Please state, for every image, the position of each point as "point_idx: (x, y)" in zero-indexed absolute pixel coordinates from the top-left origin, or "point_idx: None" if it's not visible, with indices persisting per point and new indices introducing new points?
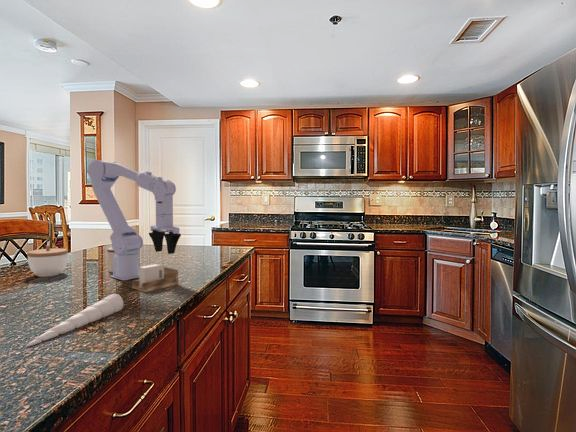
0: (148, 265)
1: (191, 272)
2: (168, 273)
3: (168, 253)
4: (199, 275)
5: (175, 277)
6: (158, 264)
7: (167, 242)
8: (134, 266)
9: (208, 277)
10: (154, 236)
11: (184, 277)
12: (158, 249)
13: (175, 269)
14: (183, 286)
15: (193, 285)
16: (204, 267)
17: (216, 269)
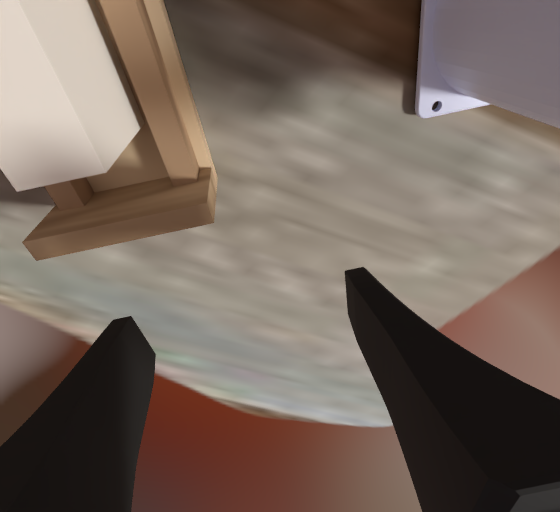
0: (34, 37)
1: (312, 332)
2: (124, 204)
3: (124, 319)
4: (228, 338)
5: (48, 213)
6: (56, 156)
7: (30, 440)
8: (481, 44)
9: (164, 351)
10: (442, 437)
11: (232, 282)
12: (352, 302)
13: (60, 251)
14: (12, 212)
15: (17, 258)
16: (359, 387)
17: (289, 404)
